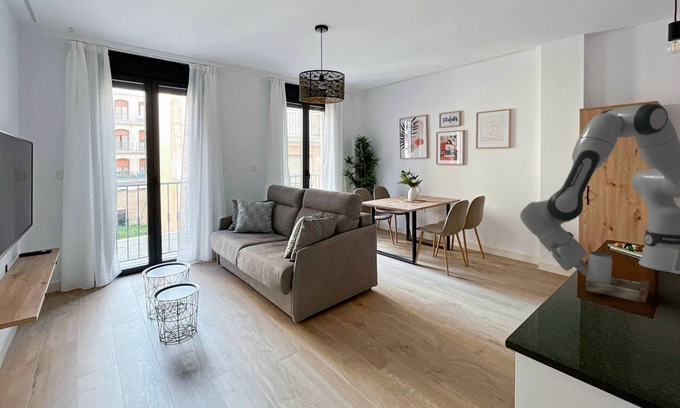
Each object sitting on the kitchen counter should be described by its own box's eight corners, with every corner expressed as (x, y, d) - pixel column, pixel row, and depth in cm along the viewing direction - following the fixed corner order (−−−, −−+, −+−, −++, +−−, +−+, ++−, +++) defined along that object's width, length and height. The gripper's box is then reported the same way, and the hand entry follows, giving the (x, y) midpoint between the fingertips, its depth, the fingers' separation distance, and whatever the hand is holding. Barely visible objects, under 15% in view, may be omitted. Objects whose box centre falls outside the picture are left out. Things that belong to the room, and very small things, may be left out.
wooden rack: (585, 290, 111) (585, 278, 111) (591, 281, 119) (592, 270, 118) (645, 303, 101) (646, 290, 100) (648, 292, 108) (649, 281, 107)
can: (613, 292, 109) (617, 257, 108) (591, 290, 111) (594, 255, 109) (603, 284, 116) (606, 251, 114) (582, 283, 117) (585, 250, 116)
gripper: (557, 241, 111) (590, 276, 106) (571, 231, 125) (602, 262, 120) (541, 252, 115) (572, 286, 110) (557, 241, 129) (586, 271, 124)
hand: (588, 273), depth 115 cm, fingers closed
